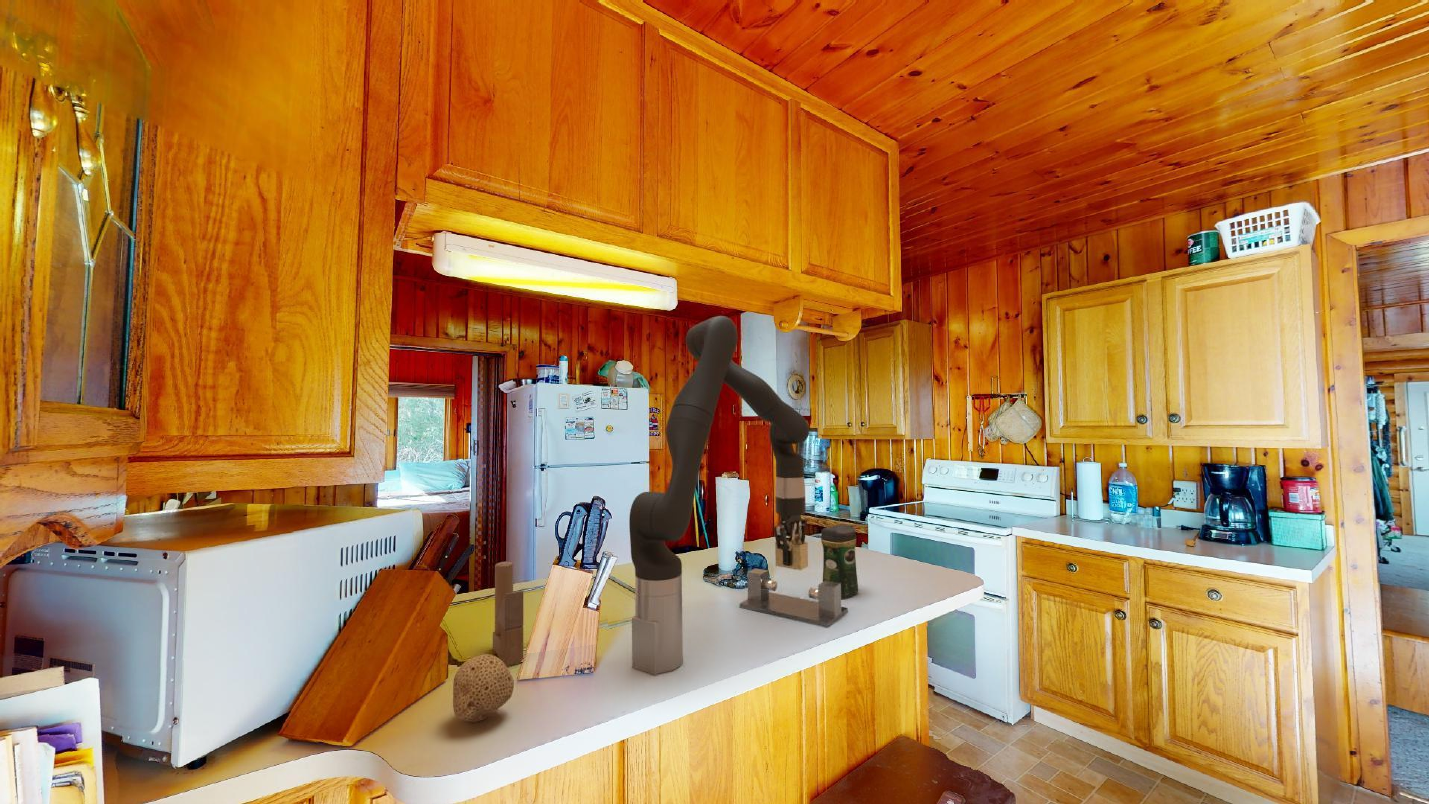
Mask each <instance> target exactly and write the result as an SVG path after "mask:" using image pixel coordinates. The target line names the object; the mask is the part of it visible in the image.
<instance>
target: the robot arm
mask: <svg viewBox="0 0 1429 804" xmlns="http://www.w3.org/2000/svg"><path fill="white" fill-rule="evenodd" d="M738 338H739V337H738V330H737V326H736V325H735V323H734V321H733V320H732V319H731V318H729V316H728V317H727V316H724V315H717V316H714V317H711V318H708V319H706V320H704V321H701V322H700V323H698V324H695V325H694V326H692V327H691V328H689V330H688V331H687V333H686V336H685V344H686V348H687V350H688V351H689V354H690V355H691V356H692V357H693V359H695V360H696V361H697V362H698V363H697V365H696V367H695V369H694V370H693V372H692V373H691V375H690V376H689V378H688V379H687V381H686V382H685V384H684V385H683V386H682V388H681V389H680V390H679V392H678V394H677V396H676V397H675V399H674V401H673V403H672V406H671V409H670V412H669V415H668V418H667V423H666V426H665V436H666V438H665V439H666V443H667V448H668V451H669V454H670V457H671V458H670V459H671V463H672V464H671V466H672V467H671V468H672V469H671V475H670V481H669V483H668V486H667V489H666V492H660V491H659V492H658V491H643V492H641V493H639V494H638V495H637V496H635V498H634V500H633V502H632V503H631V506H630V510H629V511H630V512H629V519H628V520H629V525H628V526H629V539H630V540H629V543H630V558H631V561H632V564H633V566H634V575H635V577H634V578H635V579H634V580H635V583H634V584H635V587H634V591H635V594H634V596H635V599H634V600H635V601H634V603H635V604H634V605H635V614H634V616H632V617H631V667H632V668H634V669H637V670H639V671H643V672H646V673H647V674H648V673H649V674H651V675H654V676H657V675H658V674H661V673H667V672H671V671H674V670H676V669H677V668H679V667H681V665H682V664H683V661H684V651H683V649H684V646H683V645H684V643H683V642H684V640H683V569H682V568H683V563H682V559H681V558H680V557H679V556H678V555H677V554H675V553H674V552H672V550H670V548H668V546H667V545H666V543H665V542H669V543H671V542H673V543H674V542H677V541H679V540H681V539H682V538H683V536H684V535H685V534H686V532H687V529H688V528H689V525H690V522H691V521H690V520H691V517H692V513H693V512H692V511H693V506H694V502H695V501H694V500H695V495H696V488H697V483H698V477H699V473H700V468H701V464H702V459H703V455H704V452H705V449H706V446H707V441H708V439H709V435H710V432H711V427H712V425H713V421H714V417H715V413H716V412H715V411H716V408H717V404H718V400H719V398H720V396H721V395H720V394H721V391H722V387H723V383H725V384H726V385H727V387H729V388H730V389H731V390H733V391H734V392H735V393H736V394H737V395H738V396H739V397H740V398H741V399H742V400H743V401H744V402H745V403H746V404H747V405H748V407H750V409H751V410H752V412H754V413H755V414H756V415H757V416H758V417H759V419H761V420H762V421H764V422H766V423H770V425H769V435H768V436H769V441H770V445H771V448H772V452H773V456H774V459H775V483H774V484H775V486H774V488H775V489H774V490H775V491H774V494H775V495H774V496H775V500H774V501H775V514H778V515H779V517H780V519H779V525H778V526H777V525H776V526H774V527H773V533H774V538H775V542H776V544H777V548H778V549H781V550H782V551H783V565H785V566H791V565H792V551H791V549H792V542H793V541H801V542H806V534H807V533H806V531H807V524H808V523H807V522H808V520H807V519H805V518H802V516H803V515H805V514H806V511H807V510H806V509H807V508H806V482H805V475H804V474H805V469H804V465H805V464H804V458H803V455H801V454H800V453H797V452H796V451H795V449H794V446H793V444H794V445H796V444H797V445H798V444H799V445H800V444H802V443H803V442H805V441H806V440H807V439H808V437H809V435H810V428H809V427H810V426H809V424H808V421H807V419H806V418H805V417H804V416H803V415H802V414H801V413H799V412H798V411H797V410H796V409H794V407H792V406H791V405H790V404H788V403H786V402H785V401H783V400H782V399H781V397H780V396H779V395H778V394H777V392H776V391H775V390H774V389H773V388H772V387H771V386H770V384H768V382H767V381H765V380H764V379H763V378H761V376H758V375H757V374H755V373H753V372H751V371H749V370H748V369H746V368H743V367H742V366H740V364H738V363H735V362H734V360H733V357H734V355H735V352H736V349H737V346H738ZM780 541H781V542H780ZM787 541H788V543H787Z"/></svg>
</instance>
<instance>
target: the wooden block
mask: <svg viewBox="0 0 1429 804" xmlns="http://www.w3.org/2000/svg"><path fill="white" fill-rule="evenodd" d="M492 649H493V650H494V653H495V654H496V655H497V658H499V659H500V660H502V661H503V662H504V664H505V665H506V667H507V668H509V667H511V666H514V665H519V664H522V663H521V661H522V659H523V660H524V590H519V591H514V563H513V562H512V561H501V562H498V563H496V564H495V565H494V631H493V632H492Z"/></svg>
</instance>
